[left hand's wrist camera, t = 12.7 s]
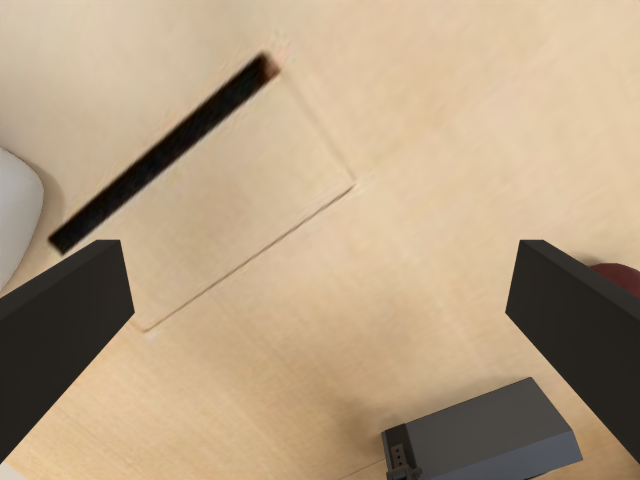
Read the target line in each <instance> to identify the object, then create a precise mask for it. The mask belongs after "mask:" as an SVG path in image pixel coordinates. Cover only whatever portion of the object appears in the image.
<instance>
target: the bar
mask: <svg viewBox="0 0 640 480" xmlns="http://www.w3.org/2000/svg"><path fill="white" fill-rule="evenodd" d="M405 425H406V427H407V429H408V433H409V437H410V441H411V444H412V448H413V452H414V456H415V459H416V463H417V467H418V468H419V467H421V469H422V471H423V473H422V474H421V475H420V477H419V478H418V480H524V479H527V478H530V477H533V476H536V475H539V474H542V473H545V472H548V471H551V470H554V469H557V468H560V467H563V466H566V465H569V464H572V463H575V462H579V461H582V460H583V458H582V455H581V452H580V449H579V447H578V444H577V441H576V438H575V435H574V433H573V430H572V429H571V427H570V426H569V425H568V423H567V422H566V421H565V420H564V418H563V417H562V416H561V414H560V413H559V412H558V411H557V409H556V408H555V407H554V405H553V404H552V403H551V402H550V400H549V399H548V398H547V396H546V395H545V394H544V393H543V391H542V390H541V389H540V387H539V386H538V385H537V383H536V382H535V381H534V380H533V378H532V377H530V378H527V379H525V380H522V381H519V382H517V383H514V384H511V385H509V386H506V387H503V388H501V389H498V390H495V391H493V392H490V393H487V394H484V395H482V396H479V397H476V398H474V399H471V400H468V401H466V402H463V403H460V404H458V405H455V406H452V407H450V408H447V409H444V410H441V411H439V412H436V413H433V414H431V415H428V416H425V417H423V418H420V419H417V420H415V421H412V422H409V423H407V424H405ZM381 434H382V440H383V445H384V451H385V456H386V461H387V467H388V471H391V470H392V466H391V461H390V456H389V451H388V445H387V440H386V435H385V432H382V433H381Z"/></svg>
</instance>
